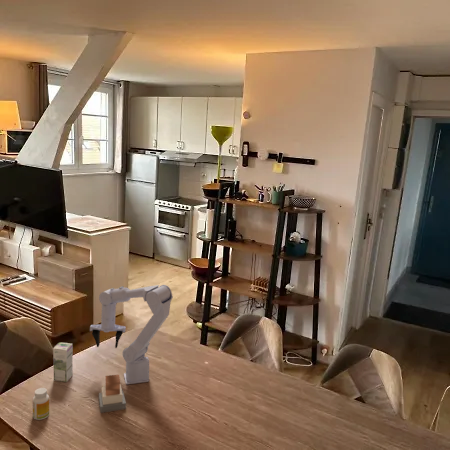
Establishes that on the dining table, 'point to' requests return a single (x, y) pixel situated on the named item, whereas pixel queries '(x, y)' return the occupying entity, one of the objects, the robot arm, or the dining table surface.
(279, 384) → the dining table surface
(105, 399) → the top slab
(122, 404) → the bottom slab
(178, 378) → the dining table surface
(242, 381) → the dining table surface
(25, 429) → the dining table surface
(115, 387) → the terracotta cube
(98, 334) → the robot arm
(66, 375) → the syrup box
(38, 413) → the supplement bottle
